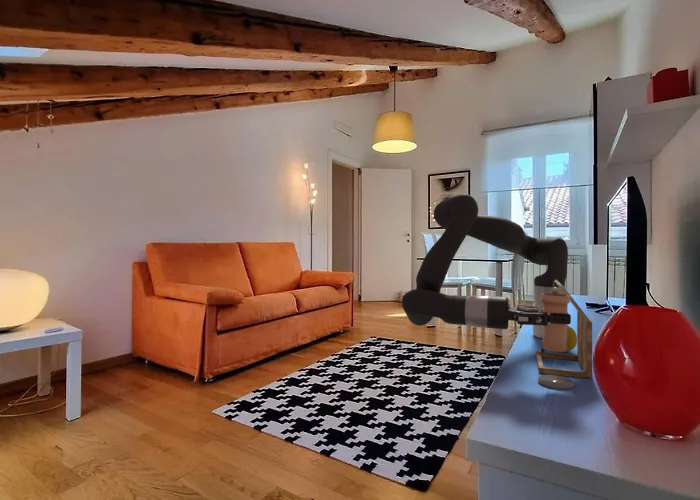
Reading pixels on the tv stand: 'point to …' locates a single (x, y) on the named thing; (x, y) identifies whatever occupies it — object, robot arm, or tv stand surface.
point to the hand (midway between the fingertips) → (568, 317)
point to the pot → (554, 332)
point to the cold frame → (582, 346)
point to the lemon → (571, 339)
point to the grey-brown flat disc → (556, 382)
